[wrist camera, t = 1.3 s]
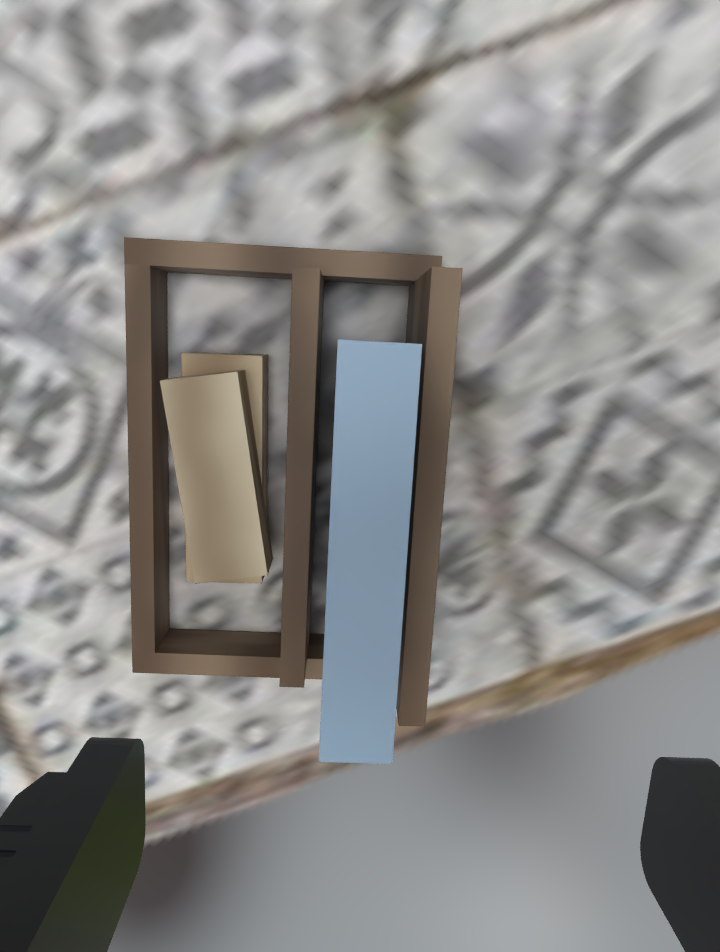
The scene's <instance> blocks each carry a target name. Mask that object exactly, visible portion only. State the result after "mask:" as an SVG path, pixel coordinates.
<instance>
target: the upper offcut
mask: <svg viewBox="0 0 720 952" xmlns="http://www.w3.org/2000/svg"><path fill="white" fill-rule="evenodd" d="M160 385H161V390H162V396H163V402H164V408H165V413H166V419H167V425H168V431H169V436H170V442H171V448H172V454H173V459H174V465H175V471H176V477H177V483H178V488H179V494H180V500H181V506H182V511H183V517H184V523H185V529H186V534H187V540H188V546H189V552H190V557H191V563H192V569H193V575H194V580H195V584H197V583H206V582H214V581H223V580H231V579H240V578H249V577H257V576H266V575H268V572H269V569H270V566H271V563H272V559H273V557H272V550H271V544H270V537H269V530H268V523H267V516H266V509H265V502H264V496H263V489H262V482H261V475H260V468H259V461H258V455H257V448H256V441H255V434H254V427H253V420H252V414H251V407H250V400H249V393H248V386H247V379H246V372H245V370H237V371H229V372H220V373H211V374H202V375H193V376H185V377H176V378H170V379H165V380H161V381H160Z"/></svg>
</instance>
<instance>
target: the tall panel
mask: <svg viewBox="0 0 720 952" xmlns="http://www.w3.org/2000/svg"><path fill="white" fill-rule="evenodd" d="M421 354H422V344H412V343H394V342H376V341H357V340H339V339H338V346H337V368H336V390H335V412H334V435H333V457H332V479H331V501H330V523H329V545H328V567H327V589H326V611H325V634H324V656H323V678H322V700H321V722H320V744H319V762H345V763H377V764H392V761H393V747H394V733H395V719H396V705H397V691H398V677H399V663H400V649H401V635H402V621H403V607H404V593H405V579H406V565H407V551H408V537H409V523H410V509H411V495H412V481H413V467H414V453H415V439H416V425H417V410H418V396H419V382H420V368H421Z"/></svg>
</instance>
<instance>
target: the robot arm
mask: <svg viewBox="0 0 720 952" xmlns="http://www.w3.org/2000/svg"><path fill="white" fill-rule="evenodd" d="M144 839H145V762H144V745H143V742H142V740H141V739H127V738H96V737H92V738H90V739H89V740H88V741H87V742H86V743H85V745H84V746H83V748H82V749H81V751H80V753H79V754H78V756H77V757H76V759H75V760H74V762H73V764H72V765H71V767H70V768H69V770H68V771H67V773H64V772H47V773H46V774H44V775H43V776H42V777H40V778H39V779H38V780H36V781H35V782H34V783H32V784H31V785H30V786H28V787H27V788H26V789H24V790H23V791H22V792H20V793H19V794H18V795H16V796H15V798H14V799H13V801H12V802H11V803H10V805H9V806H8V808H7V809H6V810H5V812H4V813H3V815H2V816H1V817H0V952H107V950H108V947H109V945H110V942H111V940H112V937H113V934H114V932H115V929H116V927H117V924H118V921H119V919H120V916H121V914H122V911H123V909H124V906H125V903H126V901H127V898H128V896H129V893H130V890H131V888H132V885H133V883H134V880H135V877H136V875H137V872H138V868H139V865H140V861H141V857H142V852H143V846H144ZM640 844H641V845H640V846H641V847H640V851H641V861H642V867H643V871H644V874H645V878H646V881H647V883H648V885H649V887H650V889H651V891H652V893H653V895H654V896H655V898H656V900H657V902H658V904H659V906H660V907H661V909H662V911H663V913H664V915H665V916H666V918H667V920H668V921H669V923H670V925H671V927H672V929H673V931H674V932H675V934H676V936H677V938H678V939H679V941H680V943H681V945H682V947H683V948H684V950H685V952H720V767H719V766H718V765H717V764H716V763H715V762H714V761H712V760H710V759H707V758H705V759H704V758H677V757H660V758H658V759H657V760H656V762H655V763H654V766H653V769H652V775H651V780H650V787H649V793H648V799H647V805H646V811H645V817H644V823H643V829H642V836H641V843H640Z"/></svg>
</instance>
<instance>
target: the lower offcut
mask: <svg viewBox="0 0 720 952" xmlns="http://www.w3.org/2000/svg"><path fill="white" fill-rule="evenodd" d="M237 370H245V372H246V379H247V386H248V393H249V400H250V407H251V414H252V420H253V427H254V434H255V441H256V448H257V455H258V461H259V468H260V475H261V482H262V489H263V496H264V502H265V509H266V516H267V498H268V355H258V354H228V353H197V352H191V353H182V377H185V376H193V375H202V374H211V373H220V372H229V371H237ZM185 531H186V529H185ZM186 575H187V582H195V580H194V575H193V569H192V563H191V557H190V552H189V546H188V540H187V534H186ZM263 578H264V576H257V577H249V578H240V579H231V580H223V581H214V582H228V583H262V581H263Z"/></svg>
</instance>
